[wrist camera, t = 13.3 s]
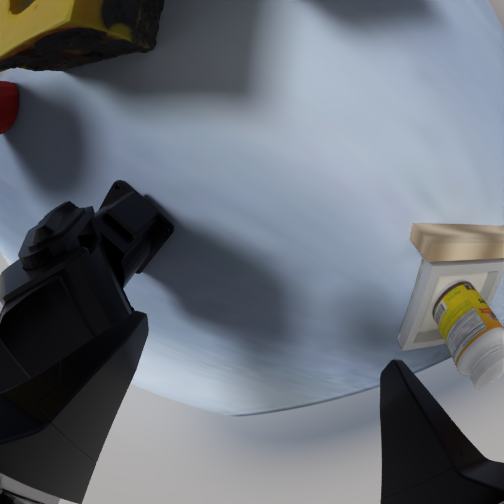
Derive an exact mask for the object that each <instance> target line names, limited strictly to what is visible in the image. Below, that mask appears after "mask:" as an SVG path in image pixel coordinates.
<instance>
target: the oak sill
mask: <svg viewBox="0 0 504 504" xmlns="http://www.w3.org/2000/svg"><path fill="white" fill-rule="evenodd" d="M410 241H411V242H412V243H413V244H414V246H415V247H416V248H417V250H418V251H419V252H420V253H421V255H422V256H423V257H424V259H425V260H426V261H427V262H436V261H458V260H477V259H495V258H504V226H489V225H462V224H418V223H413V225H412V231H411V236H410Z"/></svg>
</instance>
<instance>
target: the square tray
mask: <svg viewBox="0 0 504 504" xmlns="http://www.w3.org/2000/svg"><path fill="white" fill-rule="evenodd" d="M503 272H504V258H495V259H477V260H458V261H436V262H427V261H426V260H425V259H424V257H422V261H421V265H420V269H419V273H418V276H417V280H416V284H415V287H414V290H413V294H412V297H411V300H410V303H409V306H408V309H407V312H406V315H405V318H404V321H403V323H402V326H401V329H400V332H399V334H398V337H397V339H398V341H399V344H400V347H401V350H402V351H407V350H413V349H419V348H425V347H431V346H437V345H442V344H446V343H445V341H444V339H443V337H442V335H441V333H440V331H439V329H438V327H437V325H436V323H435V321H434V319H433V316H432V306H433V303H434V300H435V298H436V297H437V295H438V294H439V293H440V291H441V290H442V289H443V288H444V287H446V286H447V285H448V284H450V283H452V282H454V281H456V280H466V281H469V282H470V283H471V284H472V285H473V286H474V287H475V289H476V290H477V291H478V293H479V294H480V295H481V297H482V298H483V299H484V301H485V302H486V303H487V305H488V306H490V303H491V301H492V299H493V297H494V295H495V292H496V290H497V287H498V285H499V283H500V280H501V278H502V275H503Z"/></svg>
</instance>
